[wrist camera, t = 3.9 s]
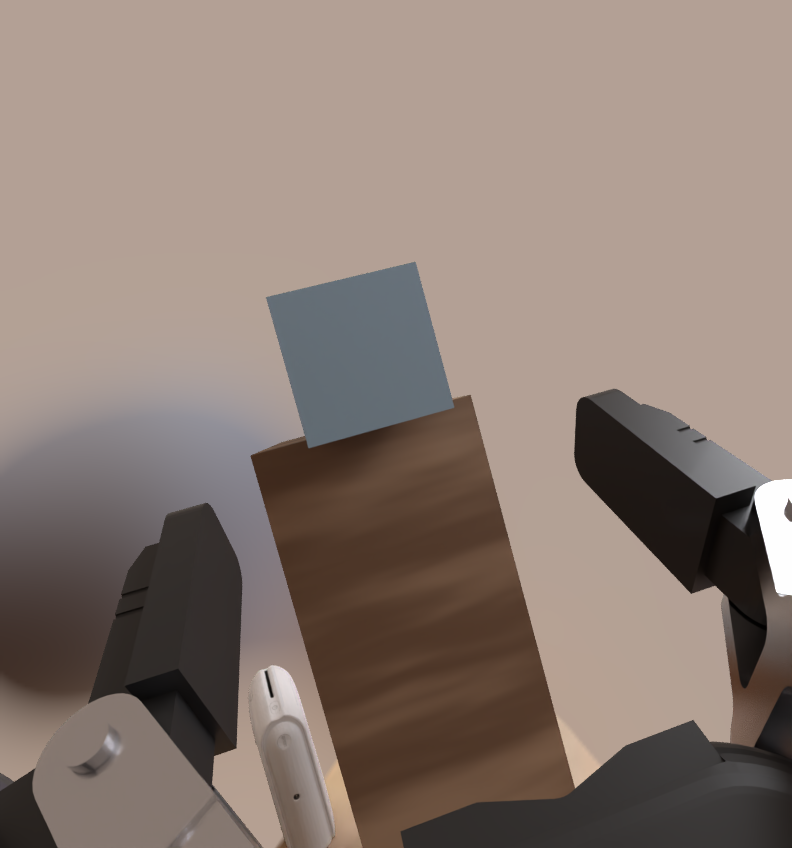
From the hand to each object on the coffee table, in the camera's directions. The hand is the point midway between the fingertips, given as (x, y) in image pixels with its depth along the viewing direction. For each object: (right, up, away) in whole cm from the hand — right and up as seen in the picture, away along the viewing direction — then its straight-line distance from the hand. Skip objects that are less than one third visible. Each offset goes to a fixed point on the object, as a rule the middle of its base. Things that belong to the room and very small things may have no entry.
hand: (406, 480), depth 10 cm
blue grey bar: (-2, +1, +13) cm, 14 cm away
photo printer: (-8, -33, +32) cm, 47 cm away
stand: (+6, -30, +18) cm, 35 cm away
